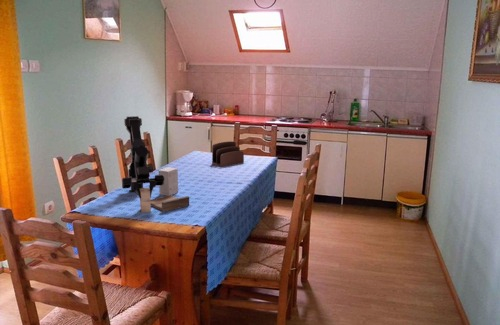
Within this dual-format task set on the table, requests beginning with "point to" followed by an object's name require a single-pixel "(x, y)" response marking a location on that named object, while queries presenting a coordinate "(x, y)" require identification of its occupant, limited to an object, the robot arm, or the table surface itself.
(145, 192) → the beige rectangular block
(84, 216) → the table surface
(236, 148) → the letter holder
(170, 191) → the small box
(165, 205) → the brown wooden tray
